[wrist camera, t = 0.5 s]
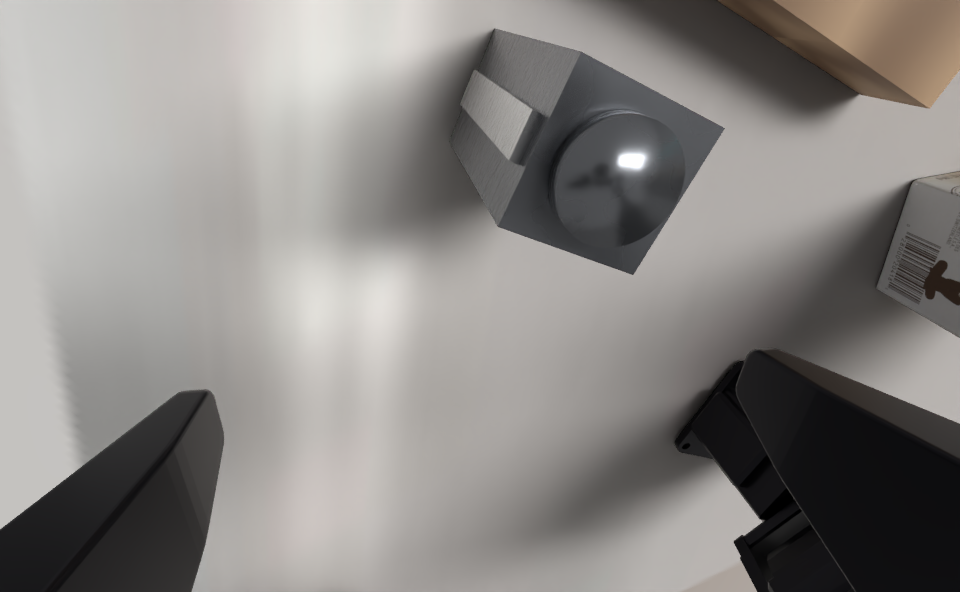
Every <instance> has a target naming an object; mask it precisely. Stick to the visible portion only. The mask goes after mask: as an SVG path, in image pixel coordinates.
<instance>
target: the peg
mask: <svg viewBox="0 0 960 592" xmlns="http://www.w3.org/2000/svg"><path fill="white" fill-rule="evenodd" d="M460 105H461V106H462V107H463V109H462V111H461V114H460V116H459V119H458V121H457V124H456V126H455V129H454V131H453V133H452V136H451V138H450V141H449V142H450V144H451V146H452V148H453V149H454V151H455V153H456V155H457V156H458V158H459V160H460V162H461V163H462V165H463V167H464V169H465V170H466V172H467V174H468V176H469V177H470V179H471V181H472V183H473V184H474V186H475V188H476V190H477V191H478V193H479V195H480V197H481V198H482V200H483V202H484V204H485V205H486V207H487V209H488V211H489V212H490V214H491V216H492V217H493V219H494V221H495V223H496V224H497V226H498V227H500V228H503V229H506V230H508V231H511V232H514V233H517V234H520V235H523V236H525V237H528V238H531V239H534V240H537V241H539V242H542V243H545V244H548V245H551V246H553V247H556V248H559V249H562V250H565V251H567V252H570V253H573V254H576V255H579V256H581V257H584V258H587V259H590V260H593V261H595V262H598V263H601V264H604V265H607V266H610V267H612V268H615V269H618V270H621V271H624V272H626V273H629V274H632V275H633V274H634V273H635V271H636V270H637V268H638V266H639V265H640V263H641V262H642V260H643V258H644V257H645V255H646V254H647V252H648V250H649V249H650V247H651V245H652V244H653V242H654V241H655V239H656V237H657V236H658V234H659V233H660V231H661V229H662V228H663V226H664V225H665V223H666V221H667V220H668V218H669V217H670V215H671V213H672V212H673V210H674V209H675V207H676V205H677V204H678V202H679V201H680V199H681V197H682V196H683V194H684V193H685V191H686V189H687V188H688V186H689V185H690V183H691V181H692V180H693V178H694V177H695V175H696V173H697V172H698V170H699V169H700V167H701V165H702V164H703V162H704V161H705V159H706V157H707V156H708V154H709V153H710V151H711V149H712V148H713V146H714V145H715V143H716V141H717V140H718V138H719V137H720V135H721V133H722V132H723V130H724V129H725V128H723V127H721V126H719V125H718V124H716V123H714V122H712V121H710V120H708V119H706V118H704V117H703V116H701V115H699V114H697V113H695V112H693V111H691V110H689V109H688V108H686V107H684V106H682V105H680V104H678V103H676V102H674V101H673V100H671V99H669V98H667V97H665V96H663V95H661V94H659V93H658V92H656V91H654V90H652V89H650V88H648V87H646V86H644V85H643V84H641V83H639V82H637V81H635V80H633V79H631V78H629V77H628V76H626V75H624V74H622V73H620V72H618V71H616V70H614V69H613V68H611V67H609V66H607V65H605V64H603V63H601V62H599V61H598V60H596V59H594V58H592V57H590V56H588V55H586V54H584V53H583V52H580V51H577V50H573V49H569V48H565V47H562V46H558V45H554V44H551V43H547V42H543V41H539V40H536V39H532V38H528V37H524V36H521V35H517V34H513V33H510V32H506V31H502V30H498V29H494V32H493V34H492V37H491V39H490V42H489V44H488V47H487V49H486V52H485V54H484V57H483V59H482V62H481V64H480V67H479V69H478V71H477V70H475V69H474V71H473V73H472V76H471V78H470V81H469V83H468V86H467V88H466V91H465V93H464V96H463V98H462V101H461V103H460Z"/></svg>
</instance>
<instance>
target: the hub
mask: <svg viewBox="0 0 960 592" xmlns="http://www.w3.org/2000/svg"><path fill="white" fill-rule="evenodd" d="M717 1H718V2H720V3H721V4H723V5H724V6H726V7H727V8H729V9H731V10H732V11H734V12H735V13H737V14H738V15H740V16H741V17H743V18H744V19H746V20H747V21H749V22H750V23H752V24H753V25H755V26H756V27H758V28H760V29H761V30H763V31H764V32H766V33H767V34H769V35H770V36H772V37H773V38H775V39H776V40H778V41H779V42H781V43H782V44H784V45H786V46H787V47H789V48H790V49H792V50H793V51H795V52H796V53H798V54H799V55H801V56H802V57H804V58H805V59H807V60H808V61H810V62H811V63H813V64H815V65H816V66H818V67H819V68H821V69H822V70H824V71H825V72H827V73H828V74H830V75H831V76H833V77H834V78H836V79H837V80H839V81H841V82H842V83H844V84H845V85H847V86H848V87H850V88H851V89H853V90H854V91H856V92H857V93H859V94H860V95H865V96H870V97H875V98H880V99H885V100H890V101H894V102H899V103H904V104H909V105H914V106H919V107H924V108H929V109H930V107H931V106H932V105H933V103H934V102H935V101H936V100H937V98H938V97H939V96H940V94H941V93H942V92H943V91H944V89H945V88H946V87H947V85H948V84H949V83H950V82H951V80H952V79H953V78H954V76H955V75H956V74H957V73H958V71H959V70H960V0H717Z"/></svg>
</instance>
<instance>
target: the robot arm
mask: <svg viewBox="0 0 960 592" xmlns="http://www.w3.org/2000/svg"><path fill="white" fill-rule="evenodd" d="M223 445H224V432H223V427H222V423H221V420H220V416H219V412H218V409H217V405H216V401H215V398H214V395H213V394H212V392H211V391H209V390H206V389H204V390H190V391H182V392H179V393H177V394H176V395H174V396H173V397H172V398H170V399H169V400H168V401H167V402H165V403H164V404H163V405H161V406H160V407H159V408H157V409H156V410H155V411H154V412H152V413H151V414H150V415H148V416H147V417H146V418H144V419H143V420H142V421H141V422H139V423H138V424H137V425H135V426H134V427H133V428H131V429H130V430H129V431H128V432H126V433H125V434H124V435H122V436H121V437H120V438H118V439H117V440H116V441H115V442H113V443H112V444H111V445H109V446H108V447H107V448H105V449H104V450H103V451H102V452H100V453H99V454H98V455H96V456H95V457H94V458H92V459H91V460H90V461H89V462H87V463H86V464H85V465H83V466H82V467H81V468H79V469H78V470H77V471H76V472H74V473H73V474H72V475H70V476H69V477H68V478H67V479H66V480H64V481H63V482H61V483H60V484H59V485H57V486H56V487H55V488H53V489H52V490H51V491H50V492H48V493H47V494H46V495H44V496H43V497H42V498H41V499H39V500H38V501H37V502H35V503H34V504H33V505H31V506H30V507H29V508H28V509H26V510H25V511H24V512H22V513H21V514H20V515H18V516H17V517H16V518H15V519H13V520H12V521H11V522H10V523H8V524H7V525H5V526H4V527H3V528H2V529H0V592H191V591H192V588H193V585H194V581H195V578H196V575H197V571H198V568H199V565H200V562H201V558H202V554H203V551H204V547H205V543H206V539H207V534H208V529H209V524H210V518H211V513H212V507H213V501H214V496H215V490H216V485H217V479H218V473H219V468H220V462H221V457H222V451H223ZM675 446H676V448H677V449H678V450H679V452H682V453H687V454H692V455H696V456H701V457H706V458H711V459H714V460H715V462H716V463H717V464H718V466H719V467H720V468H721V470H722V471H723V472H724V474H725V475H726V476H727V478H728V479H729V480H730V482H731V483H732V484H733V485H734V486H735V487H736V488H737V490H738V491H739V492H740V494H741V495H742V496H743V498H744V499H745V500H746V502H747V503H748V504H749V506H750V507H751V508H752V510H753V511H754V512H755V514H756V515H757V516H758V518H759V519H761V520H762V521H763V522H762V523H761V524H760V525H758V526H757V527H756V528H754V529H753V530H752V531H750V532H749V533H748V534H746V535H745V536H743V535H741V536H740V537H738V538H737V539H736V540H734V544H735V546H736V548H737V550H738V551H739V553H740V555H741V557H740V559H741V561H742V563H743V565H744V567H745V569H746V571H747V573H748V574H749V576H750V578H751V580H752V582H753V584H754V586H755V588H756V590H757V592H960V424H959V423H956V422H954V421H952V420H949V419H947V418H944V417H942V416H939V415H937V414H935V413H932V412H930V411H927V410H925V409H922V408H920V407H917V406H915V405H913V404H910V403H908V402H905V401H903V400H900V399H898V398H896V397H893V396H891V395H888V394H886V393H883V392H881V391H879V390H876V389H874V388H871V387H869V386H866V385H864V384H862V383H859V382H857V381H854V380H852V379H849V378H847V377H844V376H842V375H840V374H837V373H835V372H832V371H830V370H827V369H825V368H823V367H820V366H818V365H815V364H813V363H810V362H808V361H806V360H803V359H801V358H798V357H796V356H793V355H791V354H788V353H786V352H784V351H781V350H779V349H775V348H765V349H755V350H752V351H751V352H750V353H749V354H748V355H747V357H746V360H745V361H742V362H739V363H737V364H736V365H735V366H734V367H733V368H732V369H731V370H730V372H729V373H728V374H727V375H726V377H725V378H724V379H723V380H722V382H721V383H720V384H719V386H718V387H717V388H716V389H715V391H714V392H713V393H712V395H711V396H710V397H709V398H708V400H707V401H706V402H705V403H704V405H703V406H702V407H701V409H700V410H699V411H698V412H697V414H696V415H695V416H694V417H693V419H692V420H691V421H690V423H689V424H688V425H687V426H686V428H685V429H684V430H683V431H682V433H681V434H680V435H679V437H678V438H677V439H676V441H675Z"/></svg>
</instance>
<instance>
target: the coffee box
mask: <svg viewBox="0 0 960 592" xmlns="http://www.w3.org/2000/svg"><path fill="white" fill-rule="evenodd" d="M877 289H878V290H879V291H881V292H883V293H884V294H886V295H888V296H889V297H891V298H893V299H894V300H896V301H898V302H899V303H901V304H903V305H905V306H906V307H908V308H910V309H912V310H913V311H915V312H917V313H918V314H920V315H922V316H923V317H925V318H927V319H929V320H930V321H932V322H934V323H935V324H937V325H939V326H940V327H942V328H944V329H945V330H947V331H949V332H951V333H952V334H954V335H956V336H957V337H959V338H960V172H955V173H948V174H943V175H938V176H932V177H927V178H922V179H918V180H915V181H914V182H913V183H912V185H911V187H910V190H909V193H908V196H907V199H906V202H905V205H904V208H903V211H902V214H901V217H900V219H899V222H898V225H897V228H896V231H895V234H894V237H893V240H892V243H891V246H890V250H889V252H888V255H887V258H886V261H885V264H884V267H883V270H882V273H881V276H880V278H879V281H878V284H877Z"/></svg>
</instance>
